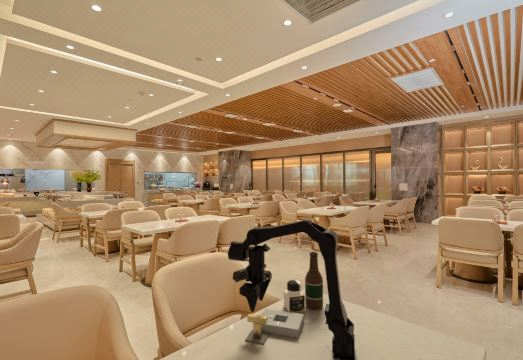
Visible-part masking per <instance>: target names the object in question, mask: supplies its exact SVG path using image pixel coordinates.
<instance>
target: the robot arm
mask: <svg viewBox="0 0 523 360" xmlns="http://www.w3.org/2000/svg"><path fill="white" fill-rule="evenodd" d="M300 233H304V234H305V235H306V236H308V237H309V238H310V239H311V240H312V241H313V242H316V243H317V244H318V248H319V252H320V254H321V257H322V260H323V261H324V269H325V276H326V277H325V278H326V286H327V295H328V303H325V307H324V317H325V325H327V328H328V330H329V331H330V332H331V333H332V334H333V336H332V341H331V351H332V354H333V359H336V360H356V348H355V347H356V346H355V340H356V338H355V334H354V333H355V323H353V321H351V319H349V318H348V314H347V311H346V310H347V309H346V308H345V305H344V303H343V300H342V294H341V285H340V278H339V277H340V276H339V267H338V261H337V255H338V245H339V244H338V243H339V241H338V240H339V239H338V238H339V236H338V233H336V231H335V230H332V229H327V228H326V227H324V226H322V225H320V224H318V223H315V222H314V221H312V220H310V219H309V218H305V219H302V220H298V221H294V222H293V221H292V222H289V223H284V224H279V225H275V226H266V225H265V226H262V225H261V226H256V227H254V228H251V229H250V230H248V231H247V233H246V238H245V239H244V240H243V242H242V241H234V240H233V241H231V242H230V245H229V247H228V252H227V258H228V260H229V261H236V262H246V261H247V260H248V265H247V266H246V267H244V268H241V269H238V270H235V271H233V273H232V280H233V281H234V282H235V283H239V282H241V281H245V282H244V284H242V285H241V286H240V287H239V295H240V296H242V297H245V299H246V301H247V304H248V307H249V310H250V312H251V313H255V310H256V307H257V304H258V301H260V302H262V301H264V298H265V295H266V293H267V290H268V288H269V285H270V284H271V280H272V276H273V275H272V272H271V271H270V270H265V269H266V268H267V264H266V261H265V257H266V256H265V253H267V252H269V251H270V250H271V247H270V246H268V245H267V243H266V242H267V241H269V240H272V239H275V238H280V237H285V236H289V235H290V236H291V235H295V234H300ZM262 243H263V244H262ZM260 244H262V245H260Z"/></svg>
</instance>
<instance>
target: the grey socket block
mask: <svg viewBox="0 0 523 360" xmlns="http://www.w3.org/2000/svg"><path fill="white" fill-rule="evenodd" d="M261 315H262V316H267V318H268V322H267V324H266V325H265V324H262V332H268V333H270V334H272V335H273V334H274V335H278V336H284V337H289V338H295V339H298V338H299V337H300V334H301V331H302V329H303V327H304V326H303V325H304V323H305V314H303V313H300V312H295V313H292V312H288V311H284V310H277V309H269V308H264V310H263V312H262V314H261Z"/></svg>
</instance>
